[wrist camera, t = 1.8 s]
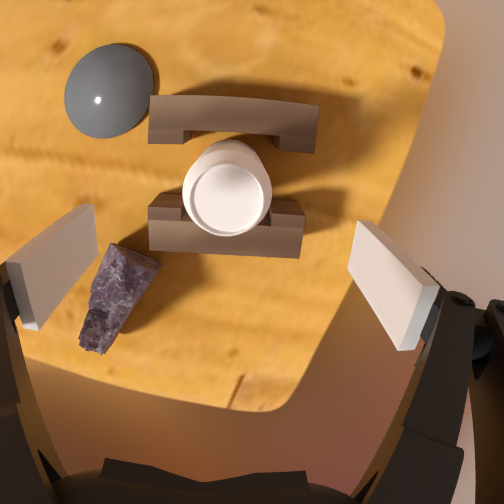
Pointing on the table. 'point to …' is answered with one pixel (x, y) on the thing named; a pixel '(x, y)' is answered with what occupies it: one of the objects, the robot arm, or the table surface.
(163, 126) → the notched wooden bars
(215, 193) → the beverage can
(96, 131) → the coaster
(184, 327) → the table surface
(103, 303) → the stone
